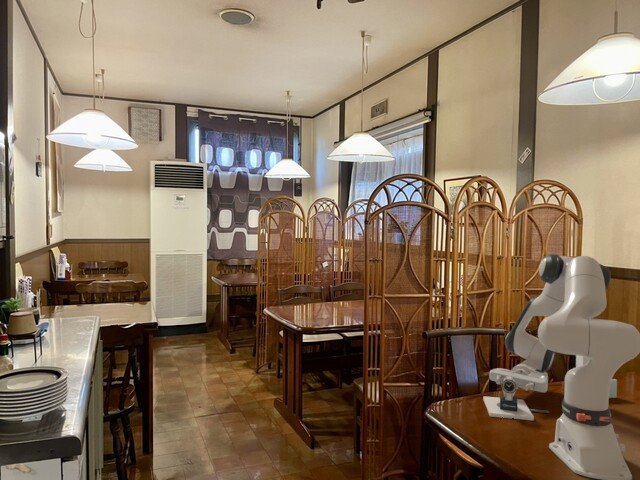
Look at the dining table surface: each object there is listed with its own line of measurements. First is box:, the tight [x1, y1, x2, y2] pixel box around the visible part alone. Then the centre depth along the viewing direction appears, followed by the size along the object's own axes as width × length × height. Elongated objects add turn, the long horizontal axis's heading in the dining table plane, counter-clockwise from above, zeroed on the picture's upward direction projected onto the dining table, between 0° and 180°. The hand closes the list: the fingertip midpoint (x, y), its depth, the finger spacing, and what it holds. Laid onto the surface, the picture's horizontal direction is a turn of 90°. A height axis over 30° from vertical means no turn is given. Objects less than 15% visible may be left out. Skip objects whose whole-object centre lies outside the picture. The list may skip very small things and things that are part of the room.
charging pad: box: [482, 396, 550, 421], centre depth 161 cm, size 16×21×1 cm
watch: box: [499, 376, 519, 412], centre depth 160 cm, size 6×8×11 cm
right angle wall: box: [609, 378, 618, 399], centre depth 180 cm, size 12×12×8 cm
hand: (510, 384), depth 164 cm, fingers open, 8 cm apart
